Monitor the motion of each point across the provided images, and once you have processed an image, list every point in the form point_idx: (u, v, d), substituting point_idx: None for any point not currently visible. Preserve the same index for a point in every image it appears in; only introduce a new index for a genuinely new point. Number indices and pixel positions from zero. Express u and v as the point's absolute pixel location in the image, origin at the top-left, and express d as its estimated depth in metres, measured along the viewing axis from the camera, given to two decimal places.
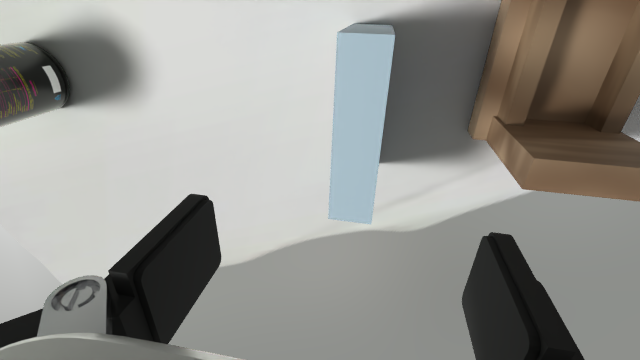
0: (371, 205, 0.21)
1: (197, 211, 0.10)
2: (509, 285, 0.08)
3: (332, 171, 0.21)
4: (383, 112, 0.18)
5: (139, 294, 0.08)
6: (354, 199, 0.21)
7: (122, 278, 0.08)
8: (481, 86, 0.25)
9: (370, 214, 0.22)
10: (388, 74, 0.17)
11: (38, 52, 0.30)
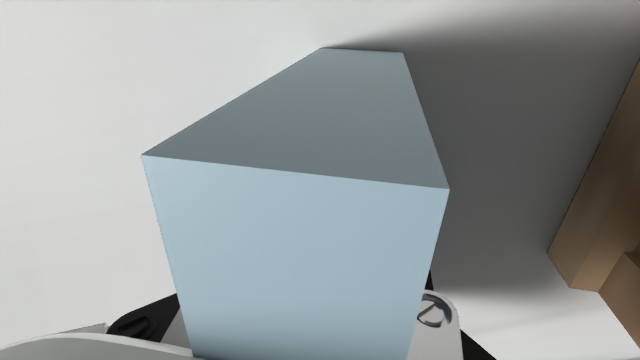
0: None
1: None
2: None
3: None
4: None
5: None
6: None
7: None
8: (593, 183, 0.12)
9: None
10: (403, 333, 0.04)
11: None
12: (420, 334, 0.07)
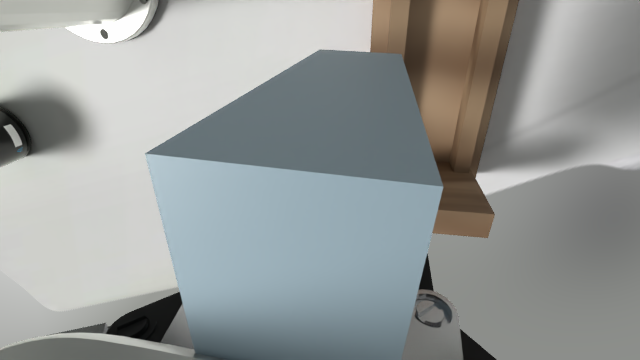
0: None
1: None
2: None
3: None
4: None
5: None
6: None
7: None
8: None
9: None
10: (400, 327, 0.04)
11: (0, 113, 0.35)
12: (420, 334, 0.07)
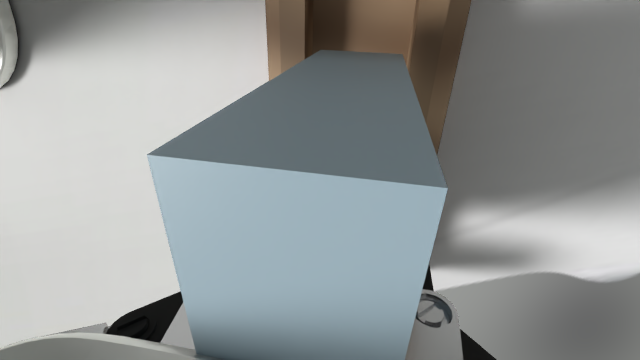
0: None
1: None
2: None
3: None
4: None
5: None
6: None
7: None
8: None
9: None
10: (403, 329, 0.04)
11: None
12: (420, 334, 0.07)
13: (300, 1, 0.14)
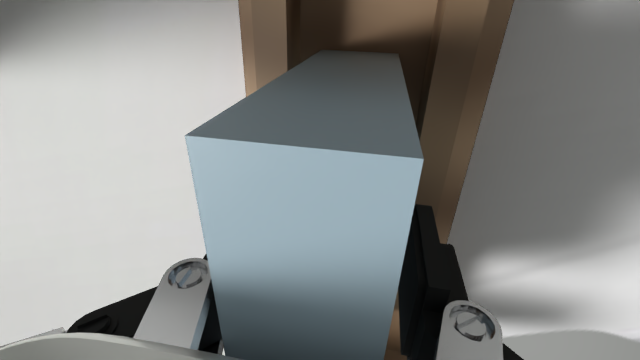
0: None
1: None
2: (416, 244, 0.09)
3: None
4: None
5: None
6: None
7: None
8: None
9: None
10: (392, 281, 0.05)
11: None
12: (459, 345, 0.07)
13: (280, 2, 0.10)
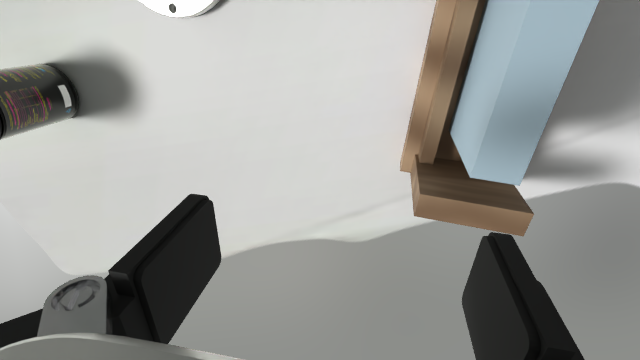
0: (526, 163, 0.19)
1: (197, 211, 0.10)
2: (509, 285, 0.08)
3: (491, 121, 0.19)
4: (574, 51, 0.16)
5: (139, 294, 0.08)
6: (507, 155, 0.20)
7: (122, 278, 0.08)
8: (408, 129, 0.32)
9: (522, 173, 0.20)
10: (595, 4, 0.15)
11: (55, 73, 0.37)
12: None
13: None
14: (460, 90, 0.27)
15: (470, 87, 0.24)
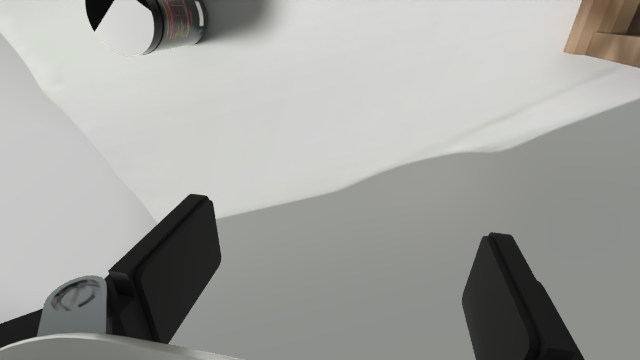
0: None
1: (197, 211, 0.10)
2: (509, 285, 0.08)
3: None
4: None
5: (139, 294, 0.08)
6: None
7: (122, 278, 0.08)
8: (582, 9, 0.30)
9: None
10: None
11: None
12: None
13: None
14: None
15: None
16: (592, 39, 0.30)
